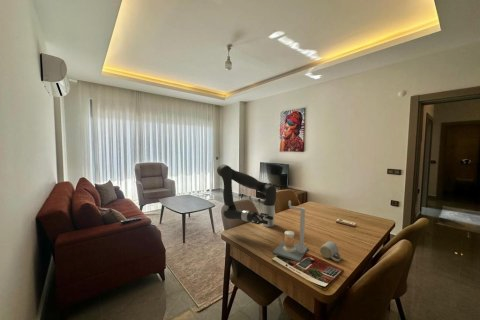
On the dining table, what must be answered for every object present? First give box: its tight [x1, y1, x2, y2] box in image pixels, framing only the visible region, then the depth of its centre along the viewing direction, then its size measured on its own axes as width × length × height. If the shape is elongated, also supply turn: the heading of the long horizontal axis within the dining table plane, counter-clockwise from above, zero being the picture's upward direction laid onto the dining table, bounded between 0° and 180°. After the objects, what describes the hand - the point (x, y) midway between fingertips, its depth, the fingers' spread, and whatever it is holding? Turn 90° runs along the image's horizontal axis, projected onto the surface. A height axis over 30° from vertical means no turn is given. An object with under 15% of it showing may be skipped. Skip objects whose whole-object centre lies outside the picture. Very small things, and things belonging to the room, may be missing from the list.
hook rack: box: [272, 200, 309, 263], centre depth 122 cm, size 18×16×31 cm
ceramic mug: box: [319, 240, 342, 262], centre depth 116 cm, size 11×8×8 cm
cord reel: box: [284, 230, 296, 251], centre depth 123 cm, size 6×6×10 cm
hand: (270, 220), depth 132 cm, fingers open, 8 cm apart
